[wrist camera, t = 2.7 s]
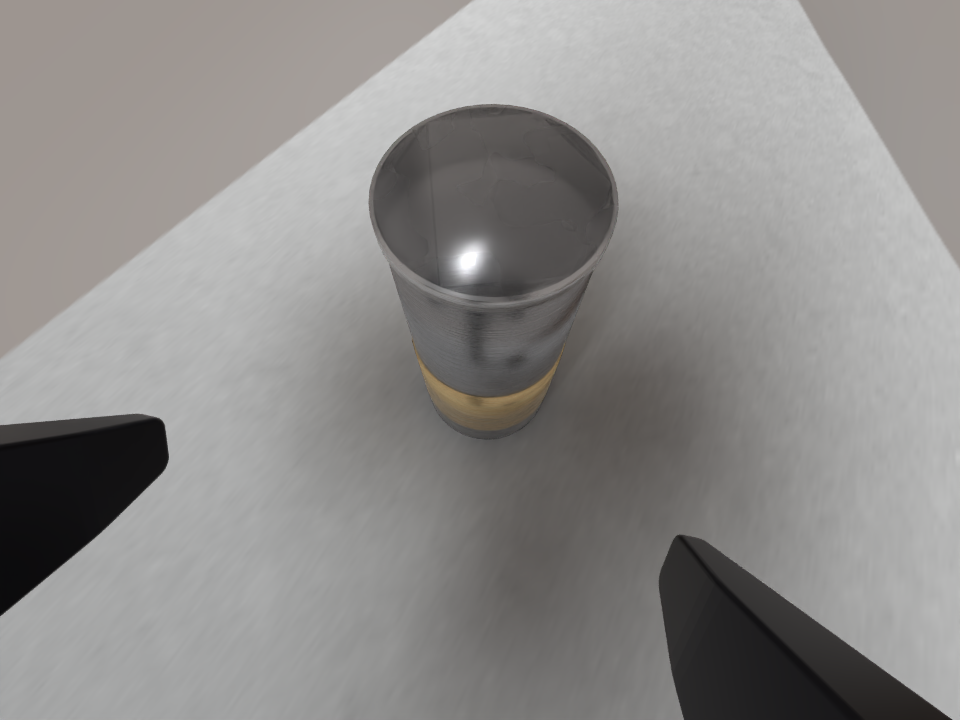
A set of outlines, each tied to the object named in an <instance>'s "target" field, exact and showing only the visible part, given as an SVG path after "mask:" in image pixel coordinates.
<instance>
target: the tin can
mask: <svg viewBox="0 0 960 720" xmlns="http://www.w3.org/2000/svg"><path fill="white" fill-rule="evenodd" d="M369 211H370V218H371V222H372V225H373V229H374V232H375V235H376V238H377V241H378V244H379V246H380V248H381V250H382V253H383V255H384V256H385V258H386V259H387V261H388V262H389V265H390V268H391V271H392V275H393V278H394V281H395V284H396V287H397V290H398V294H399V297H400V300H401V303H402V306H403V310H404V313H405V316H406V319H407V322H408V325H409V329H410V332H411V335H412V342H413V345H414V349H415V352H416V355H417V359H418V362H419V365H420V368H421V371H422V374H423V377H424V380H425V383H426V386H427V390H428V392H429V394H430V397H431V399H432V402H433V404H434V406H435V409H436V410H437V412H438V414H439V415H440V417H441V418H442V419H443V420H444V421H445V422H446V423H447V424H448V425H449V426H450V427H452V428H453V429H454V430H456V431H458V432H460V433H462V434H464V435H466V436H469V437H473V438H477V439H497V438H502V437H505V436H508V435H511V434H513V433H515V432H517V431H518V430H520V429H522V428H523V427H524V426H525V425H527V424H528V423H529V422H530V421H531V419H532V418H533V417H534V416H535V414H536V413H537V411H538V409H539V407H540V405H541V403H542V401H543V399H544V397H545V395H546V393H547V390H548V388H549V385H550V383H551V380H552V378H553V375H554V373H555V370H556V368H557V365H558V363H559V360H560V358H561V355H562V352H563V350H564V347H565V342H566V339H567V336H568V334H569V331H570V328H571V326H572V323H573V321H574V318H575V316H576V313H577V311H578V308H579V305H580V303H581V300H582V298H583V295H584V293H585V290H586V288H587V285H588V282H589V280H590V277H591V275H592V272H593V270H594V268H595V267H596V265H597V264H598V263H599V261H600V260H601V258H602V256H603V254H604V252H605V250H606V248H607V246H608V243H609V241H610V239H611V236H612V233H613V230H614V227H615V224H616V221H617V214H618V193H617V187H616V182H615V180H614V177H613V174H612V171H611V169H610V167H609V165H608V164H607V162H606V160H605V158H604V157H603V156H602V154H601V153H600V152H599V150H598V149H597V148H596V147H595V146H594V145H593V144H592V143H591V142H590V140H589V139H588V138H586V137H585V136H584V135H583V134H581V133H580V132H579V131H578V130H576V129H575V128H573V127H571V126H570V125H568V124H567V123H565V122H563V121H561V120H559V119H557V118H555V117H553V116H550V115H548V114H545V113H542V112H540V111H536V110H532V109H528V108H524V107H518V106H512V105H500V104H486V105H474V106H466V107H461V108H457V109H452V110H449V111H446V112H443V113H440V114H437V115H435V116H433V117H430V118H428V119H426V120H424V121H422V122H421V123H419V124H417V125H415V126H414V127H412V128H411V129H409V130H408V131H407V132H405V133H404V134H403V135H402V136H401V137H399V138H398V139H397V140H396V141H395V142H394V143H393V144H392V145H391V147H390V148H389V149H388V150H387V152H386V153H385V154H384V156H383V157H382V159H381V161H380V162H379V164H378V166H377V168H376V170H375V173H374V175H373V178H372V182H371V186H370V191H369Z"/></svg>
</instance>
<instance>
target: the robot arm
mask: <svg viewBox="0 0 960 720" xmlns="http://www.w3.org/2000/svg"><path fill="white" fill-rule="evenodd" d="M168 460H169V453H168V445H167V438H166V430H165V425H164V423H163V421H162V420H161V419H160V418H157V417H153V416H148V415H144V414H127V415H116V416H104V417H92V418H81V419H69V420H57V421H45V422H34V423H22V424H10V425H0V616H1V615H3V614H4V613H5V612H6V611H7V610H9V609H10V608H11V607H12V606H14V605H15V604H16V603H17V602H18V601H20V600H21V599H22V598H23V597H24V596H26V595H27V594H28V593H29V592H30V591H32V590H33V589H34V588H35V587H36V586H38V585H39V584H40V583H41V582H43V581H44V580H45V579H46V578H47V577H49V576H50V575H51V574H52V573H53V572H55V571H56V570H57V569H58V568H59V567H61V566H62V565H63V564H64V563H66V562H67V561H68V560H69V559H70V558H72V557H73V556H74V555H75V554H76V553H78V552H79V551H80V550H81V549H82V548H84V547H85V546H86V545H87V544H88V543H90V542H91V541H92V540H93V539H94V538H95V537H97V536H98V535H99V534H100V533H101V532H102V531H103V530H104V529H105V528H107V527H108V526H109V525H110V524H111V523H112V522H113V521H114V520H115V519H116V518H117V517H118V516H119V515H120V514H121V513H122V512H123V511H124V510H125V509H126V508H127V507H128V506H129V505H130V504H131V503H132V502H133V501H134V500H135V499H136V498H137V497H138V496H139V495H140V494H141V493H142V492H143V491H144V490H145V489H146V488H147V487H149V486H150V485H151V484H152V483H153V482H154V481H155V480H156V479H157V478H158V477H159V476H160V475H161V474H162V472H163V471H164V470H165V468H166V466H167V464H168ZM659 592H660V598H661V605H662V612H663V618H664V625H665V632H666V638H667V645H668V652H669V658H670V664H671V670H672V675H673V679H674V683H675V687H676V691H677V695H678V699H679V703H680V706H681V710H682V714H683V718H684V720H952V719H951V718H949V717H948V716H947V715H945V714H944V713H942V712H941V711H940V710H938V709H937V708H936V707H934V706H933V705H931V704H930V703H929V702H927V701H926V700H924V699H923V698H922V697H920V696H919V695H918V694H916V693H915V692H913V691H912V690H911V689H909V688H908V687H906V686H905V685H904V684H902V683H901V682H900V681H898V680H897V679H895V678H894V677H893V676H891V675H890V674H888V673H887V672H886V671H884V670H883V669H882V668H880V667H879V666H877V665H876V664H875V663H873V662H872V661H871V660H869V659H868V658H866V657H865V656H864V655H862V654H861V653H859V652H858V651H857V650H855V649H854V648H853V647H851V646H850V645H848V644H847V643H846V642H844V641H843V640H841V639H840V638H839V637H837V636H836V635H835V634H833V633H832V632H830V631H829V630H828V629H826V628H825V627H823V626H822V625H821V624H819V623H818V622H817V621H815V620H814V619H812V618H811V617H810V616H808V615H807V614H805V613H804V612H803V611H801V610H800V609H799V608H797V607H796V606H794V605H793V604H792V603H790V602H789V601H787V600H786V599H785V598H783V597H782V596H781V595H779V594H778V593H776V592H775V591H774V590H772V589H771V588H769V587H768V586H767V585H765V584H764V583H763V582H761V581H760V580H758V579H757V578H756V577H754V576H753V575H751V574H750V573H749V572H747V571H746V570H745V569H743V568H742V567H740V566H739V565H738V564H736V563H735V562H733V561H732V560H731V559H729V558H728V557H727V556H725V555H724V554H722V553H721V552H720V551H718V550H717V549H716V548H714V547H713V546H711V545H710V544H709V543H707V542H706V541H704V540H702V539H700V538H695V537H691V536H686V535H677V536H676V537H675V538H674V539H673V541H672V544H671V546H670V549H669V551H668V554H667V556H666V559H665V561H664V564H663V566H662V569H661V571H660V576H659Z"/></svg>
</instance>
